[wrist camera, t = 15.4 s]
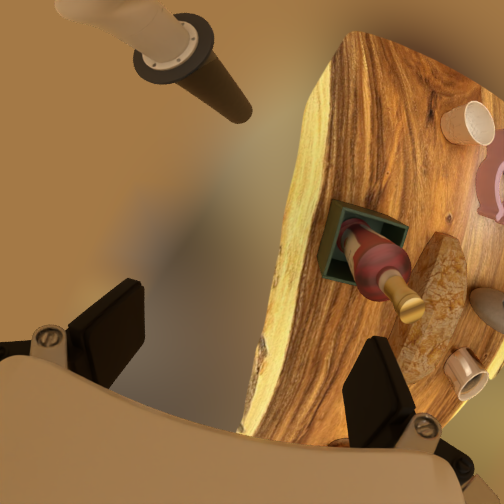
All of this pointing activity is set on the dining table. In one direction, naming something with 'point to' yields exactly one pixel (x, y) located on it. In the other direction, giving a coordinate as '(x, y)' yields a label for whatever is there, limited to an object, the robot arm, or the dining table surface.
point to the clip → (491, 180)
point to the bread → (432, 307)
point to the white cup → (468, 125)
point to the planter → (489, 307)
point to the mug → (465, 373)
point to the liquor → (380, 268)
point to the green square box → (329, 253)
